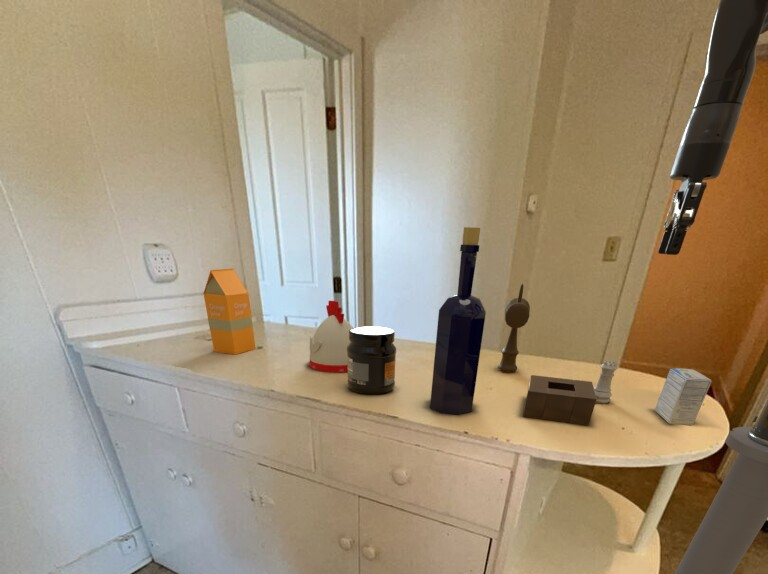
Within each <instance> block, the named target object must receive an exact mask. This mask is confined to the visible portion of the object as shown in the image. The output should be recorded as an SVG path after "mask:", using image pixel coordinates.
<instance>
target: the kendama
mask: <svg viewBox="0 0 768 574" xmlns="http://www.w3.org/2000/svg"><path fill="white" fill-rule="evenodd" d="M523 294H524V283H521V285H520V287H519V291H518V296H517V297H514V298H512V299H510V300H509V301H508V303H506V305H505V309H504V321H505V323H506V325H507V326H508V327H510V332H509V335H508V338H507V341H506V344H505V346H504V348H503V349H502V350H501V354H502V357H501V360H500V362H499V364H497V369H498V370H500V371H501V372H506V373H508V372H509V373H511V372H515V371H517V370H518V366H517V356H518V355H519V353H520V351H519V349H518V331H519V330H518V329H521V328H522V327H524V326H525V325H527V323H528V321H529V318H530V312H531V306H530V303H529V301H528V300H526V299H525V298H523Z"/></svg>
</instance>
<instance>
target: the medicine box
mask: <svg viewBox="0 0 768 574" xmlns="http://www.w3.org/2000/svg"><path fill="white" fill-rule="evenodd" d="M664 381H665V382H664V384H663V387H662V388H661V392H660V395H659V397H658V398H657V399H658V400H657V402H656V404H655V408H654V411H655V412H656V413H657V414H658V415H659V416H660V417H661V418H663V420H665V421H666V422H667V423H668V424H670V425H678V426H690V427H691V426H694V424H695V421H696V419H697V416H698V414H699V412H700V409H701V407H702V405H703V403H704V400H705V398H706V396H707V393H708V391H709V389H710V386H711V384H712V379H710V378H709V377H707V376H706V375H704V374H703V373H701V372H699V371H696V370H695V369H691V368H680V367H677V368H670V369H669V371H668V373H667V376H666V378H665V380H664Z"/></svg>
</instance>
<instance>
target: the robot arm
mask: <svg viewBox="0 0 768 574" xmlns="http://www.w3.org/2000/svg"><path fill="white" fill-rule="evenodd" d="M711 27H712V28H711V31H710V37H709V38H710V39H709V44H708V49H707V54H706V62H705V69H704V72H703V76H702V79H701V81H700V84H699V86H698V87H699V88H698V90H697V93H696V97H695V101H694V103H693V107H692V109H691V113H690V115H689V117H688V120H687V122H686V124H685V126H684V130H683V133H682V136H681V139H680V143H679V146H678V149H677V152H676V155H675V159H674V161H673V164H672V168H671V171H670V174H669V178H670V179H671V180H673V181H681V184H680V186H679V189H675V191H674V192H673V194H672V198H671V202H670V205H669V209H668V211H667V214H666V218H665V219H664V220H665V221H664V222H663V231H664V232H663V235H662V238H661V241H660V244H659V247H658V249H657V253H658V254H660V255H668V256H677V255H679V254H680V252H681V249H682V246H683V243H684V241H685V237H686V235H687V232H688V231H689V230H690V228H691V226H693V224H694V223H695V221H696V216H697V214H698V211H699V209H700V205H701V202H702V199H703V197H704V193H705V190H706V189H707V187H708V182H705V181H709V180H714V179H717V178H718V177H719V176H720V174H721V171H722V168H723V166H724V163H725V160H726V158H727V154H728V152H729V150H730V147H731V144H732V141H733V138H734V136H735V135H734V134H735V132H736V129H737V127H738V125H739V119H740V117H741V111H742V109H743V105H744V103H745V100H746V98H747V94H748V91H749V89H750V86H751V83H752V80H753V77H754V74H755V71H756V66H757V55H756V51H757V46H758V42H759V39H760V36H761V35H762V34H765V33H767V32H768V0H719V3H718V6H717V8H716V11H715V15H714V19H713V23H712V26H711ZM703 181H704V182H703ZM752 423H753V424H752V426H751V427H752V429H751V430H750V431H749V433H748V437H749V438H750V439H751V440H753V441H755V442H757V443H759V444H761V445H764V446H767V447H768V398H767V399H766V401H765V403H764V404H763V406H762V408H761V411H760V412H759V414H758V415H756V416H754V418H753V420H752Z"/></svg>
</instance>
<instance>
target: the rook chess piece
mask: <svg viewBox="0 0 768 574" xmlns="http://www.w3.org/2000/svg"><path fill="white" fill-rule="evenodd" d="M600 368H601V372H600V373H599V378H598V380H597V382H596V384H595V386H593V387H594V391H595V395H596V399H597V400H596V403H595V404H608V403H609V402H610V401H611V397H612V396H613V394H612V389H611V387H612V386H611V385H612V381H613V378H614V376H615V374H614V373H615V371H617V370H618V362H616V361H612V360H604V361H603V363H602V364H600Z"/></svg>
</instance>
